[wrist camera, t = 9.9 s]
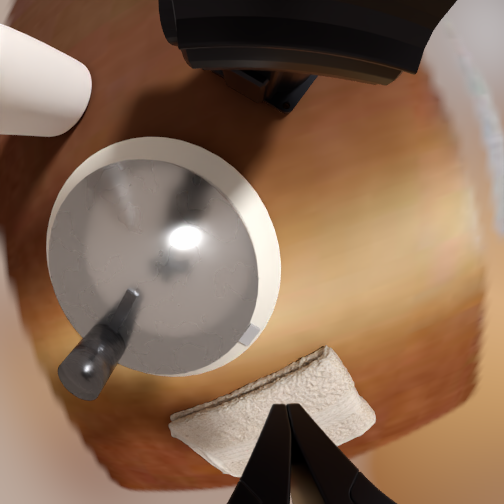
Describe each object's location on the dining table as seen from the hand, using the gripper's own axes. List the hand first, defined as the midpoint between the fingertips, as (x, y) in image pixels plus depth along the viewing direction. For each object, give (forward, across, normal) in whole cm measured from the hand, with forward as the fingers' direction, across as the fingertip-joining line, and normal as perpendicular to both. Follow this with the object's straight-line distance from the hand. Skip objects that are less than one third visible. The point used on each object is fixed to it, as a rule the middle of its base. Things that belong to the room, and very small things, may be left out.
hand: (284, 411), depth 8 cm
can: (+13, +16, -14) cm, 25 cm away
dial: (+12, +8, 0) cm, 14 cm away
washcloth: (+14, -2, +15) cm, 21 cm away
